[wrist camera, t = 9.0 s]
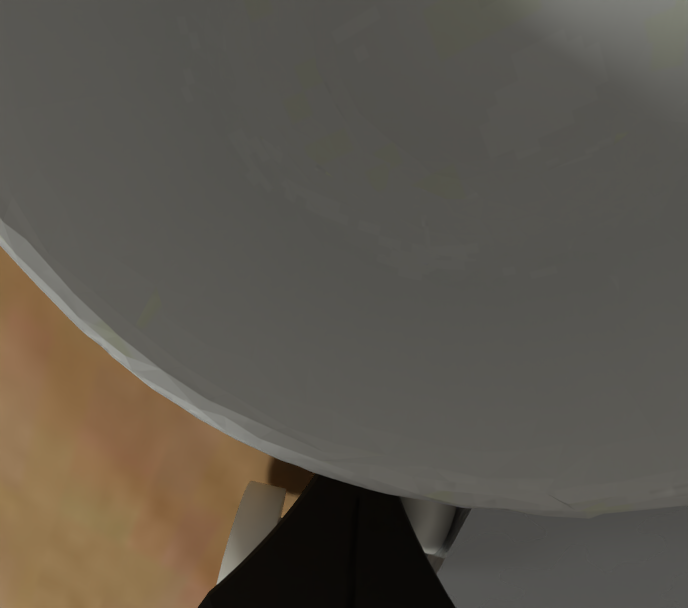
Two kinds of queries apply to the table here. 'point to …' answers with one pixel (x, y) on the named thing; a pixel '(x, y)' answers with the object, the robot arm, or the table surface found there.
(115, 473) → the table surface
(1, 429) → the table surface
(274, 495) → the knob middle
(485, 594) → the rack
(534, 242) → the teacup
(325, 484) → the robot arm
